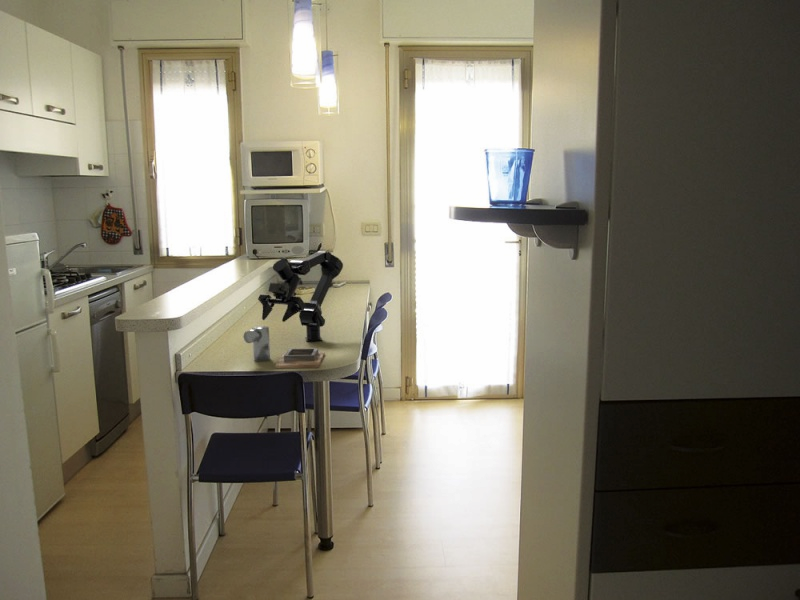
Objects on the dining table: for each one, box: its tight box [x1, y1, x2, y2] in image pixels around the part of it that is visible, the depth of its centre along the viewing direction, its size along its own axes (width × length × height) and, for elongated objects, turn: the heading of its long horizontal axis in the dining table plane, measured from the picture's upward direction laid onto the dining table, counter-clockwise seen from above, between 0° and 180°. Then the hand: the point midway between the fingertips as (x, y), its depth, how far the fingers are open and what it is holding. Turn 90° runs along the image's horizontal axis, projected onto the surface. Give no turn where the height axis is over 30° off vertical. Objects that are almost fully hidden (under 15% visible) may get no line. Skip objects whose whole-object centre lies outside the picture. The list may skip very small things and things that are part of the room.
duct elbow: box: [243, 325, 271, 363], centre depth 233 cm, size 10×6×12 cm, turn 154°
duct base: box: [275, 347, 325, 369], centre depth 233 cm, size 18×15×3 cm
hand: (272, 320), depth 241 cm, fingers open, 9 cm apart
